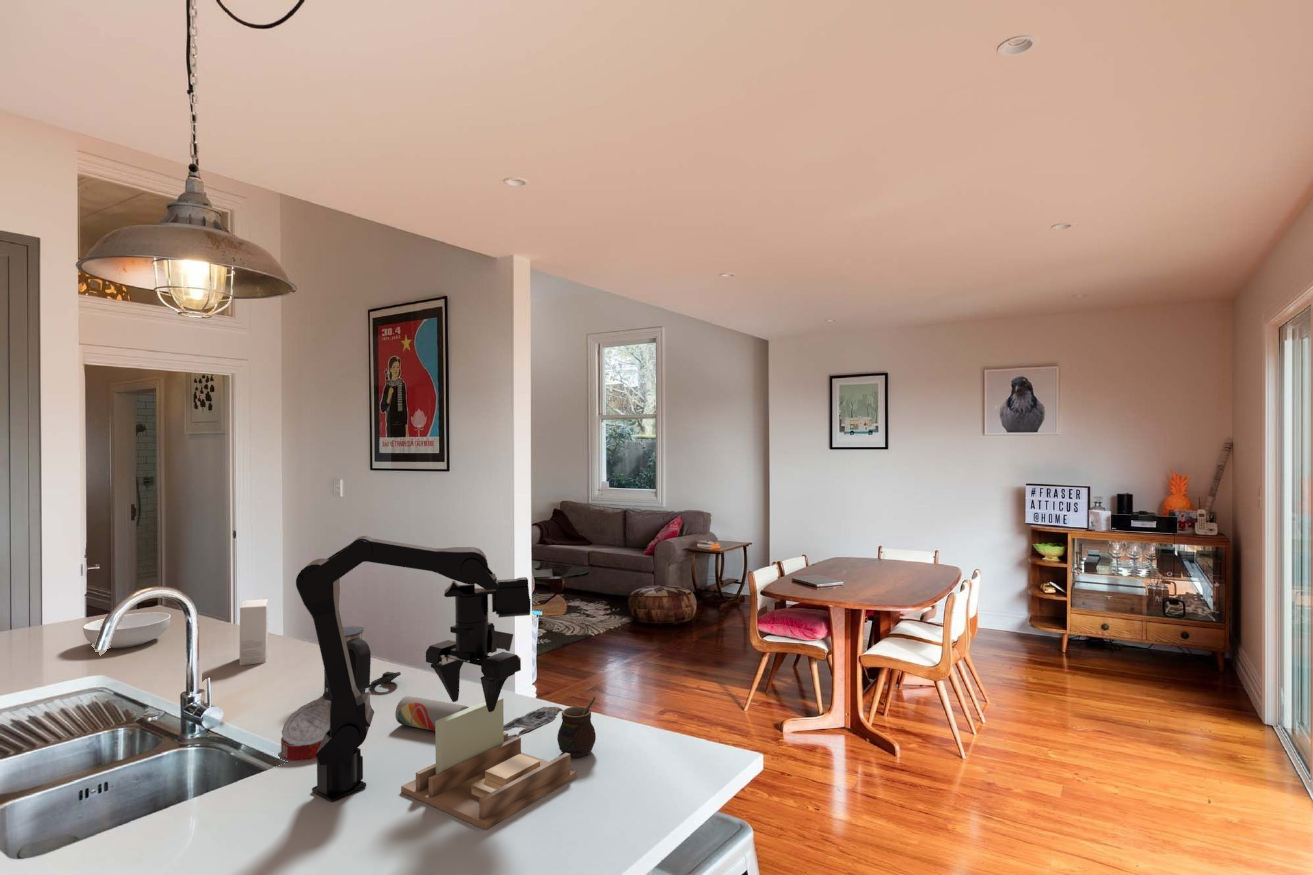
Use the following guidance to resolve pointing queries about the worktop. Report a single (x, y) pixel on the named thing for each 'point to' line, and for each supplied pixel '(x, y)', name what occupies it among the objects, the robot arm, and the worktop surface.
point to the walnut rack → (457, 798)
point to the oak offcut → (511, 769)
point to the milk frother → (359, 662)
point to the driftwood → (532, 720)
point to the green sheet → (468, 734)
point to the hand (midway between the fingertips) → (472, 706)
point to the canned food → (305, 730)
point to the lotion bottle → (424, 711)
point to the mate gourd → (576, 731)
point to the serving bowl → (132, 629)
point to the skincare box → (253, 631)
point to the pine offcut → (484, 788)
